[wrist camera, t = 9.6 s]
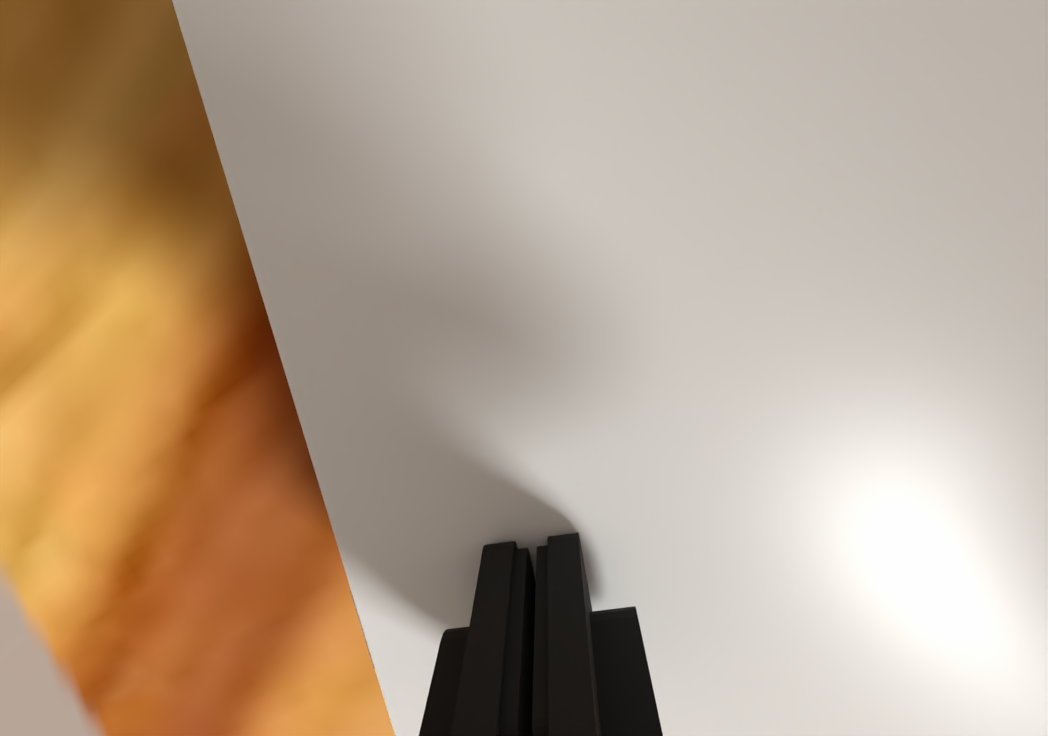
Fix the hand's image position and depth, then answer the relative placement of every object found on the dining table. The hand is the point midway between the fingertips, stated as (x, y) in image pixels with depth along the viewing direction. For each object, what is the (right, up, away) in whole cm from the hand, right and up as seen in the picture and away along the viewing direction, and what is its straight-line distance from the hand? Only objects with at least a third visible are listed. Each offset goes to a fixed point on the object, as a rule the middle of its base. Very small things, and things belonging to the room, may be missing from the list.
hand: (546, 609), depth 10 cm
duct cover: (+2, +6, -1) cm, 6 cm away
